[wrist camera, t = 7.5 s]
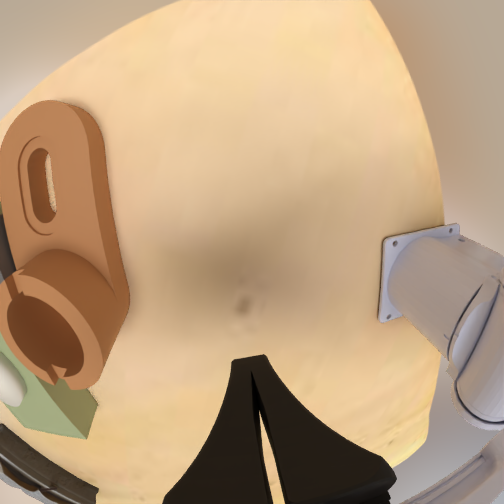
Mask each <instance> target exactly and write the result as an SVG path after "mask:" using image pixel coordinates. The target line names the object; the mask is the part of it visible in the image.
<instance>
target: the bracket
mask: <svg viewBox="0 0 504 504" xmlns="http://www.w3.org/2000/svg"><path fill="white" fill-rule="evenodd" d="M48 153H49V155H50V158H51V167H52V176H53V184H54V191H55V198H56V205H57V211H56V213H55V212H54V211H53V210H52V208H51V206H50V202H49V195H48V189H47V181H46V172H45V159H46V156H47V154H48ZM0 200H1V206H2V212H3V218H4V223H5V228H6V232H7V237H8V241H9V245H10V249H11V253H12V256H13V260H14V263H15V267H16V270H17V271H15V272H14V273H13V274H11V275H10V276H9V277H7V278H6V279H5V280H4V281H3V282H2V283H1V284H0V332H1V334H2V336H3V338H4V340H5V342H6V344H7V345H8V347H9V348H10V350H11V351H12V353H13V354H14V355H15V357H16V358H17V359H18V360H19V361H20V362H21V363H22V364H23V365H24V366H25V367H26V368H27V369H28V370H29V371H31V372H32V373H33V374H35V375H36V376H37V377H39V378H40V379H42V380H44V381H46V382H48V383H50V384H52V385H54V386H55V385H56V383H57V381H58V379H59V378H61V379H64V380H65V381H66V383H67V384H68V386H69V388H70V389H71V390H81V389H86V388H88V387H90V386H92V385H94V384H95V383H96V382H97V381H98V379H99V378H100V376H101V373H102V371H103V368H104V366H105V363H106V361H107V358H108V356H109V354H110V351H111V349H112V347H113V344H114V342H115V340H116V337H117V335H118V333H119V331H120V328H121V326H122V324H123V322H124V320H125V317H126V315H127V313H128V310H129V305H130V293H129V287H128V283H127V279H126V275H125V271H124V267H123V263H122V258H121V254H120V249H119V244H118V239H117V234H116V229H115V224H114V218H113V212H112V206H111V199H110V192H109V185H108V176H107V167H106V157H105V147H104V141H103V137H102V134H101V131H100V129H99V126H98V125H97V123H96V121H95V120H94V119H93V117H92V116H91V115H90V114H89V113H87V112H86V111H85V110H83V109H81V108H79V107H76V106H72V105H69V104H66V103H62V102H58V101H53V100H47V101H41V102H38V103H35V104H33V105H31V106H30V107H28V108H27V109H25V110H24V111H23V112H22V113H21V114H20V115H19V116H18V117H17V118H16V119H15V120H14V122H13V123H12V124H11V126H10V127H9V129H8V131H7V133H6V135H5V137H4V140H3V142H2V145H1V148H0Z"/></svg>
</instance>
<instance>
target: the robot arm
mask: <svg viewBox="0 0 504 504" xmlns="http://www.w3.org/2000/svg"><path fill="white" fill-rule="evenodd" d="M459 232H460V226H459V224H457V223H454V224H449V225H444V226H440V227H435V228H430V229H426V230H421V231H416V232H412V233H407V234H402V235H397V236H393V237H388V238H386V239H385V240H384V242H383V261H382V279H381V293H380V304H379V314H378V320H379V321H380V322H381V323H384V322H387V321H390V320H393V319H395V318H398V317H401V316H404V317H405V318H406V319H407V320H408V321H409V322H410V323H411V324H412V325H413V326H415V327H416V328H417V329H418V330H419V331H420V332H421V333H422V334H423V335H424V336H425V337H426V338H427V339H428V340H429V341H430V342H431V343H432V344H433V345H434V346H435V347H436V348H437V349H438V351H439V352H440V353H441V354H442V355H443V356H444V357H445V358H446V359H447V360H448V361H449V366H448V368H447V370H446V371H447V373H448V374H449V375H450V376H451V377H452V378H453V379H454V381H453V383H452V387H451V397H452V401H453V404H454V406H455V408H456V410H457V411H458V413H459V414H460V415H461V416H462V418H463V419H465V421H467V422H468V423H469V424H471V425H473V426H475V427H477V428H480V429H484V430H499V431H500V432H499V433H498V434H497V435H496V436H495V437H494V438H492V439H491V440H490V441H489V442H488V443H487V444H486V445H485V446H484V447H483V448H482V450H481V451H480V452H479V453H478V454H477V455H475V456H474V457H473V458H472V459H470V460H469V461H468V462H466V463H465V464H464V465H462V466H461V467H460V468H458V469H457V470H455V471H454V472H452V473H451V474H450V475H448V476H447V477H445V478H444V479H442V480H440V481H439V482H437V483H436V484H434V485H433V486H431V487H429V488H427V489H426V490H424V491H422V492H420V493H419V494H417V495H415V496H413V497H411V498H410V499H408V500H406V501H404V502H402V503H400V504H491V503H492V502H493V501H494V500H495V499H496V498H497V497H498V496H499V495H500V494H501V493H502V492H503V491H504V257H503V256H502V255H500V254H499V253H497V252H495V251H493V250H491V249H489V248H487V247H485V246H483V245H481V244H479V243H477V242H475V241H472V240H470V239H468V238H466V237H464V236H461V235H459ZM394 241H395V244H394V245H393V242H394ZM259 411H260V414H261V417H262V421H263V424H264V427H265V430H266V433H267V436H268V439H269V442H270V445H271V448H272V451H273V455H274V458H275V462H276V467H277V471H278V475H279V480H280V484H281V488H282V493H283V497H284V501H285V504H390V502H389V500H390V499H391V497H390V495H389V493H388V490H389V489H390V488H391V487H392V485H393V484H394V483H395V482H396V480H397V478H396V475H395V473H394V471H393V470H392V468H391V467H390V466H389V464H388V463H387V462H386V461H385V460H384V459H383V457H381V456H379V455H377V454H374V453H372V452H370V451H368V450H366V449H364V448H362V447H360V446H358V445H356V444H354V443H352V442H351V441H349V440H347V439H346V438H344V437H343V436H341V435H340V434H338V433H337V432H335V431H334V430H332V429H331V428H329V427H328V426H326V425H325V424H324V423H323V422H321V421H320V420H319V419H318V418H316V417H315V416H314V415H313V414H312V413H311V412H310V411H309V410H307V409H306V408H305V407H304V406H303V405H302V404H301V403H300V402H299V401H298V400H297V398H296V397H295V396H294V395H293V394H292V393H291V392H290V391H289V389H288V388H287V387H286V386H285V384H284V383H283V382H282V381H281V379H280V378H279V377H278V375H277V374H276V372H275V371H274V369H273V368H272V366H271V364H270V362H269V360H268V358H267V356H266V355H264V354H263V355H258V356H252V357H247V358H241V359H234V360H233V361H232V362H231V373H230V378H229V382H228V387H227V390H226V394H225V397H224V400H223V403H222V406H221V409H220V411H219V414H218V417H217V419H216V421H215V424H214V426H213V428H212V430H211V432H210V434H209V436H208V438H207V440H206V442H205V444H204V445H203V447H202V449H201V451H200V452H199V454H198V455H197V457H196V458H195V460H194V461H193V463H192V464H191V465H190V467H189V468H188V470H187V471H186V472H185V474H184V475H183V476H182V477H181V479H180V480H179V481H178V482H177V483H176V484H175V485H174V486H173V488H172V489H171V490H170V491H169V492H168V493H167V494H166V495H165V497H164V500H163V503H162V504H273V500H272V495H271V491H270V486H269V482H268V477H267V472H266V467H265V463H264V456H263V448H262V437H261V426H260V415H259Z"/></svg>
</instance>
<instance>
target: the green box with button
mask: <svg viewBox="0 0 504 504" xmlns="http://www.w3.org/2000/svg"><path fill="white" fill-rule="evenodd" d="M15 271H17V270H16V267H15V263H14V260H13V256H12V253H11V249H10V245H9V241H8V237H7V232H6V228H5V223H4V218H3V212H2V206H1V202H0V284H1V283H2V282H3V281H4V280H5V279H6V278H7V277H9V276H10V275H11V274H13V273H14V272H15ZM0 400H1V401H2V402H3V403H4V404H5V405H6V407H7V408H8V409H9V410H10V411H11V413H12V414H13V415H14V416H15V417H16V418H17V419H18V421H19V422H20V423H21V424H22V425H23V426H24V427H25V428H29V429H33V430H37V431H42V432H46V433H51V434H56V435H61V436H67V437H74V438H80V439H87V438H88V434H89V431H90V427H91V424H92V421H93V418H94V415H95V412H96V408H97V405H98V404H97V402H96V401H95V400H94V398H93V397H92V395H91V394H90V393H89V391H88V390H87V388H86V389H81V390H71V389H70V388H69V386H68V384H67V383H66V381H65V380H64V379H61V378H59V379H58V381H57V383H56V385H55V386H54V385H52V384H50V383H48V382H46V381H44V380H42V379H40V378H39V377H37V376H36V375H35V374H33V373H32V372H31V371H29V370H28V369H27V368H26V367H25V366H24V365H23V364H22V363H21V362H20V361H19V360H18V359H17V358H16V357H15V355H14V354H13V353H12V351H11V350H10V348H9V347H8V345H7V344H6V342H5V340H4V338H3V336H2V334H1V332H0Z"/></svg>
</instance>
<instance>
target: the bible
mask: <svg viewBox="0 0 504 504" xmlns="http://www.w3.org/2000/svg"><path fill="white" fill-rule="evenodd" d="M0 479H1V480H3V481H4V482H5V483H7V484H8V485H10V486H12V487H15V488H19V489H22V491H23V492H25V493H26V494H27V495H29V496H31V497H33V498H35V499H37V500H39V501H41V502H42V503H44V504H96V494H97V493H98V490H99V488H97V487H95V486H93V485H91V484H89V483H87V482H85V481H83V480H81V479H79V478H77V477H76V476H74V475H73V474H71V473H69V472H68V471H66V470H64V469H63V468H61V467H60V466H58V465H57V464H55V463H53V462H52V461H50V460H49V459H47V458H46V457H45V456H43V455H41V454H40V453H39V452H37V451H35V449H34V448H32V447H31V446H30V445H28V444H27V443H26V442H25V441H23V440H22V439H21V438H20V437H19V436H17V435H16V434H15V433H14V432H12V431H11V430H9V429H8V428H7V427H6V426H5V425H4V426H3V424H0Z"/></svg>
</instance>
